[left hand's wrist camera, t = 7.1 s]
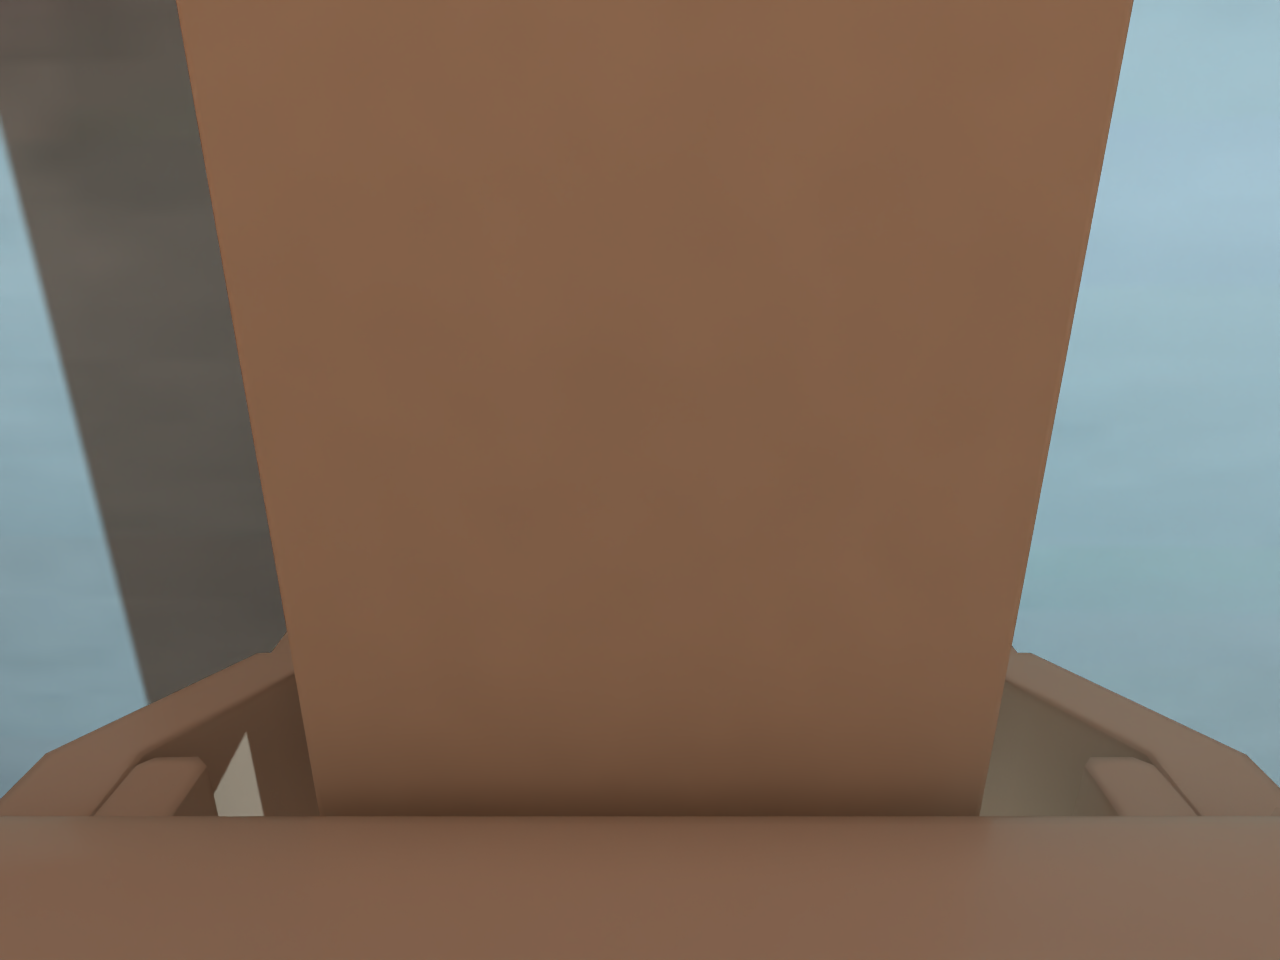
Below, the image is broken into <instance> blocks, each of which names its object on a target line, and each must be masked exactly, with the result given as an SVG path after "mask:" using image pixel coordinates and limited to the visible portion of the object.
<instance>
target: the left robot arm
mask: <svg viewBox="0 0 1280 960" xmlns="http://www.w3.org/2000/svg"><path fill="white" fill-rule="evenodd" d="M0 960H1280V788H1279V787H1278V786H1277V785H1276V784H1275V783H1274V782H1273V781H1272V780H1271V779H1270V778H1269V777H1268V776H1267V775H1266V774H1265V773H1264V772H1263V771H1262V770H1261V769H1260V768H1259V767H1258V766H1257V765H1256V764H1255V763H1254V762H1253V761H1252V760H1251V759H1250V758H1249V757H1248V756H1247V755H1246V754H1243V753H1241V752H1239V751H1237V750H1235V749H1233V748H1231V747H1229V746H1227V745H1224V744H1222V743H1220V742H1218V741H1216V740H1214V739H1212V738H1210V737H1208V736H1205V735H1203V734H1201V733H1199V732H1197V731H1195V730H1193V729H1191V728H1188V727H1186V726H1184V725H1182V724H1180V723H1178V722H1176V721H1174V720H1172V719H1169V718H1167V717H1165V716H1163V715H1161V714H1159V713H1157V712H1155V711H1153V710H1150V709H1148V708H1146V707H1144V706H1142V705H1140V704H1138V703H1136V702H1133V701H1131V700H1129V699H1127V698H1125V697H1123V696H1121V695H1119V694H1117V693H1114V692H1112V691H1110V690H1108V689H1106V688H1104V687H1102V686H1100V685H1097V684H1095V683H1093V682H1091V681H1089V680H1087V679H1085V678H1083V677H1081V676H1078V675H1076V674H1074V673H1072V672H1070V671H1068V670H1066V669H1064V668H1062V667H1059V666H1057V665H1055V664H1053V663H1051V662H1049V661H1047V660H1045V659H1042V658H1040V657H1038V656H1036V655H1034V654H1032V653H1017V652H1016V650H1015V649H1014V648H1013V646H1011V651H1010V657H1009V662H1008V667H1007V673H1006V678H1005V683H1004V688H1003V694H1002V699H1001V704H1000V710H999V715H998V720H997V725H996V731H995V736H994V741H993V747H992V752H991V757H990V762H989V768H988V773H987V778H986V784H985V789H984V794H983V799H982V805H981V810H980V815H979V816H320V815H319V809H318V804H317V798H316V792H315V787H314V781H313V775H312V769H311V764H310V758H309V752H308V747H307V741H306V735H305V730H304V724H303V718H302V713H301V707H300V701H299V696H298V690H297V684H296V679H295V673H294V667H293V662H292V656H291V650H290V645H289V639H288V633H287V632H286V633H285V635H284V636H283V637H282V639H281V640H280V641H279V643H278V644H277V645H276V647H275V648H274V649H273V651H272V652H271V653H256V654H254V655H252V656H250V657H248V658H246V659H244V660H242V661H240V662H238V663H235V664H233V665H231V666H229V667H227V668H225V669H223V670H221V671H219V672H217V673H214V674H212V675H210V676H208V677H206V678H204V679H202V680H200V681H198V682H196V683H193V684H191V685H189V686H187V687H185V688H183V689H181V690H179V691H177V692H174V693H172V694H170V695H168V696H166V697H164V698H162V699H160V700H158V701H156V702H153V703H151V704H149V705H147V706H145V707H143V708H141V709H139V710H137V711H135V712H132V713H130V714H128V715H126V716H124V717H122V718H120V719H118V720H116V721H113V722H111V723H109V724H107V725H105V726H103V727H101V728H99V729H97V730H95V731H92V732H90V733H88V734H86V735H84V736H82V737H80V738H78V739H76V740H74V741H71V742H69V743H67V744H65V745H63V746H61V747H59V748H57V749H55V750H52V751H50V752H48V753H46V754H45V755H44V756H43V757H42V758H41V759H40V760H39V761H38V762H37V763H36V764H35V765H34V766H33V767H32V768H31V769H30V770H29V771H28V772H27V773H26V774H25V775H24V776H23V777H22V778H21V779H20V780H19V781H18V782H17V783H16V784H15V785H14V786H13V787H12V788H11V789H10V790H9V791H8V792H7V793H6V794H5V795H4V796H3V797H2V798H1V799H0Z"/></svg>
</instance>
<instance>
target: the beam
mask: <svg viewBox="0 0 1280 960" xmlns="http://www.w3.org/2000/svg"><path fill="white" fill-rule="evenodd" d="M1133 1H1134V0H176V3H177V9H178V15H179V20H180V26H181V32H182V37H183V43H184V49H185V55H186V60H187V66H188V72H189V77H190V83H191V89H192V94H193V100H194V106H195V111H196V117H197V123H198V128H199V134H200V140H201V145H202V151H203V157H204V162H205V168H206V174H207V179H208V185H209V191H210V196H211V202H212V208H213V213H214V219H215V225H216V230H217V236H218V242H219V247H220V253H221V259H222V264H223V270H224V276H225V281H226V287H227V293H228V299H229V304H230V310H231V316H232V321H233V327H234V333H235V338H236V344H237V350H238V355H239V361H240V367H241V372H242V378H243V384H244V389H245V395H246V401H247V406H248V412H249V418H250V423H251V429H252V435H253V440H254V446H255V452H256V457H257V463H258V469H259V474H260V480H261V486H262V491H263V497H264V503H265V508H266V514H267V520H268V525H269V531H270V537H271V543H272V548H273V554H274V560H275V565H276V571H277V577H278V582H279V588H280V594H281V599H282V605H283V611H284V616H285V622H286V628H287V633H288V639H289V645H290V650H291V656H292V662H293V667H294V673H295V679H296V684H297V690H298V696H299V701H300V707H301V713H302V718H303V724H304V730H305V735H306V741H307V747H308V752H309V758H310V764H311V769H312V775H313V781H314V787H315V792H316V798H317V804H318V809H319V815H320V816H979V815H980V810H981V805H982V799H983V794H984V789H985V784H986V778H987V773H988V768H989V762H990V757H991V752H992V747H993V741H994V736H995V731H996V725H997V720H998V715H999V710H1000V704H1001V699H1002V694H1003V688H1004V683H1005V678H1006V673H1007V667H1008V662H1009V657H1010V651H1011V646H1012V641H1013V635H1014V630H1015V625H1016V620H1017V614H1018V609H1019V604H1020V598H1021V593H1022V588H1023V583H1024V577H1025V572H1026V567H1027V561H1028V556H1029V551H1030V546H1031V540H1032V535H1033V530H1034V524H1035V519H1036V514H1037V509H1038V503H1039V498H1040V493H1041V487H1042V482H1043V477H1044V471H1045V466H1046V461H1047V456H1048V450H1049V445H1050V440H1051V434H1052V429H1053V424H1054V419H1055V413H1056V408H1057V403H1058V397H1059V392H1060V387H1061V382H1062V376H1063V371H1064V366H1065V360H1066V355H1067V350H1068V345H1069V339H1070V334H1071V329H1072V323H1073V318H1074V313H1075V307H1076V302H1077V297H1078V292H1079V286H1080V281H1081V276H1082V270H1083V265H1084V260H1085V255H1086V249H1087V244H1088V239H1089V233H1090V228H1091V223H1092V218H1093V212H1094V207H1095V202H1096V196H1097V191H1098V186H1099V181H1100V175H1101V170H1102V165H1103V159H1104V154H1105V149H1106V143H1107V138H1108V133H1109V128H1110V122H1111V117H1112V112H1113V106H1114V101H1115V96H1116V91H1117V85H1118V80H1119V75H1120V69H1121V64H1122V59H1123V54H1124V48H1125V43H1126V38H1127V32H1128V27H1129V22H1130V17H1131V11H1132V6H1133Z"/></svg>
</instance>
